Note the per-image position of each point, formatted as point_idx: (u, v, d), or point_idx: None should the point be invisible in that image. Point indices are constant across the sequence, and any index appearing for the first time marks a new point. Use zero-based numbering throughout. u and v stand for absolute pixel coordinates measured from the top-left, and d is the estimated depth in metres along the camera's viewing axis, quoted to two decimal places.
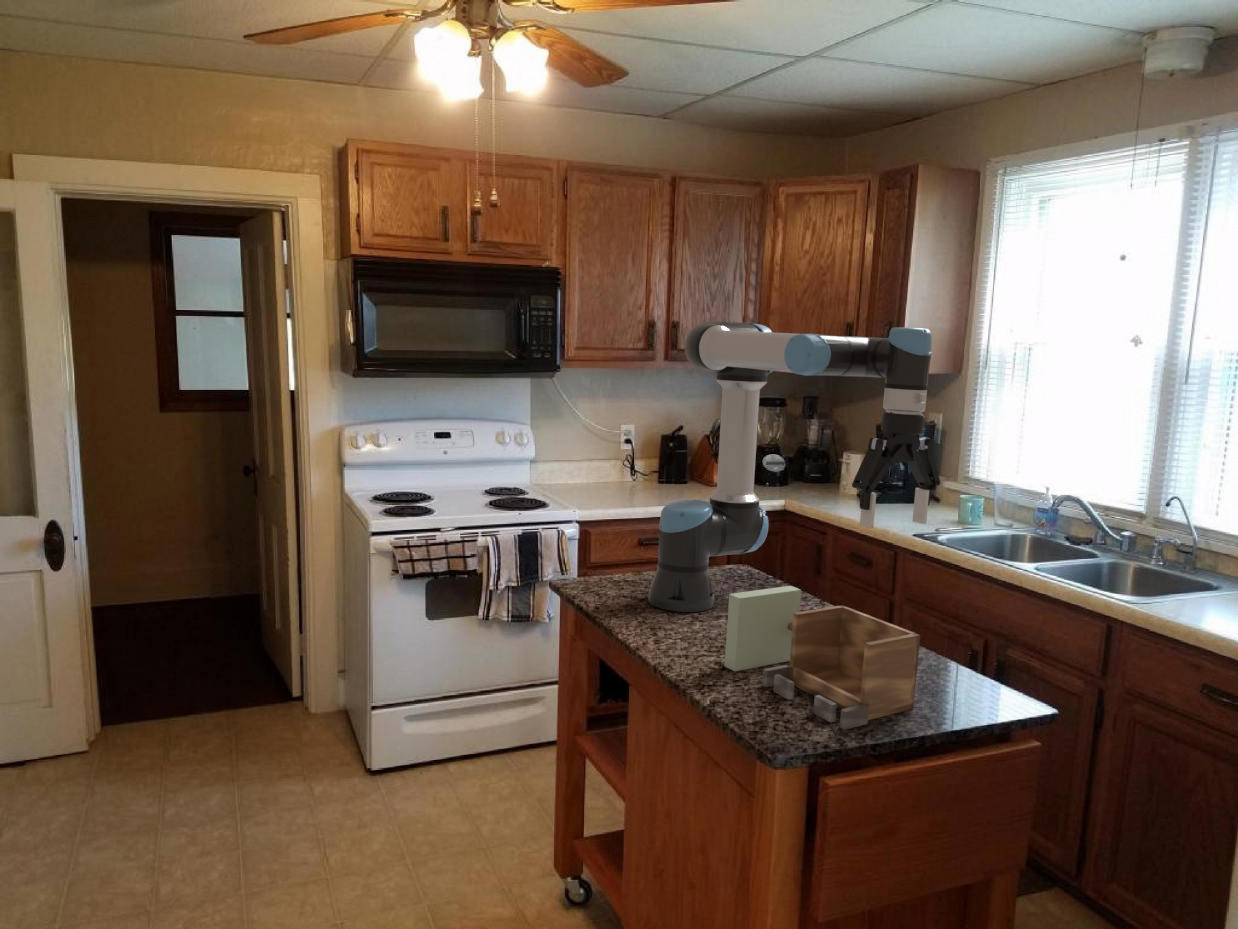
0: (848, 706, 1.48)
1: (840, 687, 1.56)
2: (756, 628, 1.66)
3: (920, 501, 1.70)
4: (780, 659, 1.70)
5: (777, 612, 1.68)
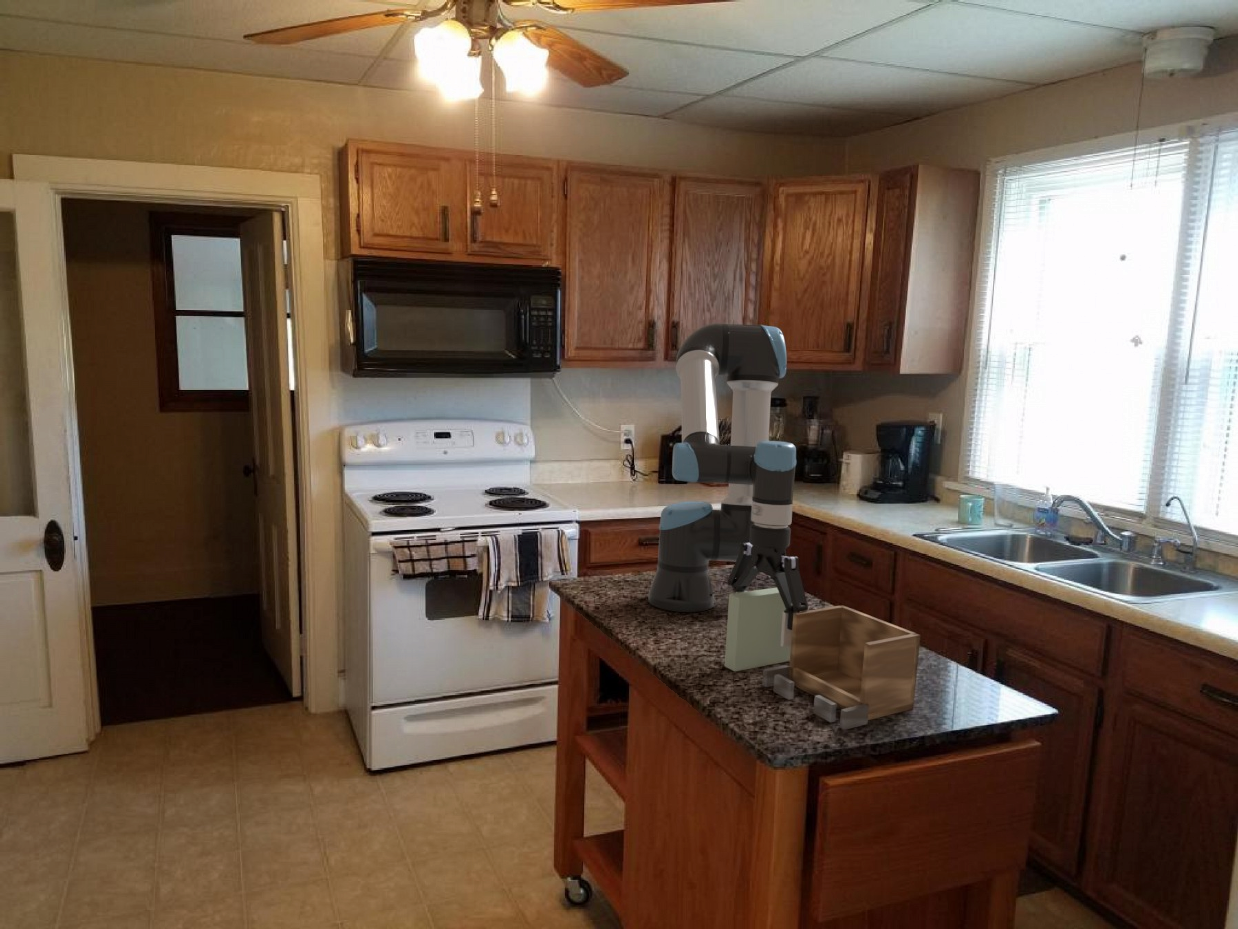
0: (848, 706, 1.48)
1: (840, 687, 1.56)
2: (756, 628, 1.66)
3: None
4: (780, 659, 1.70)
5: (777, 612, 1.68)
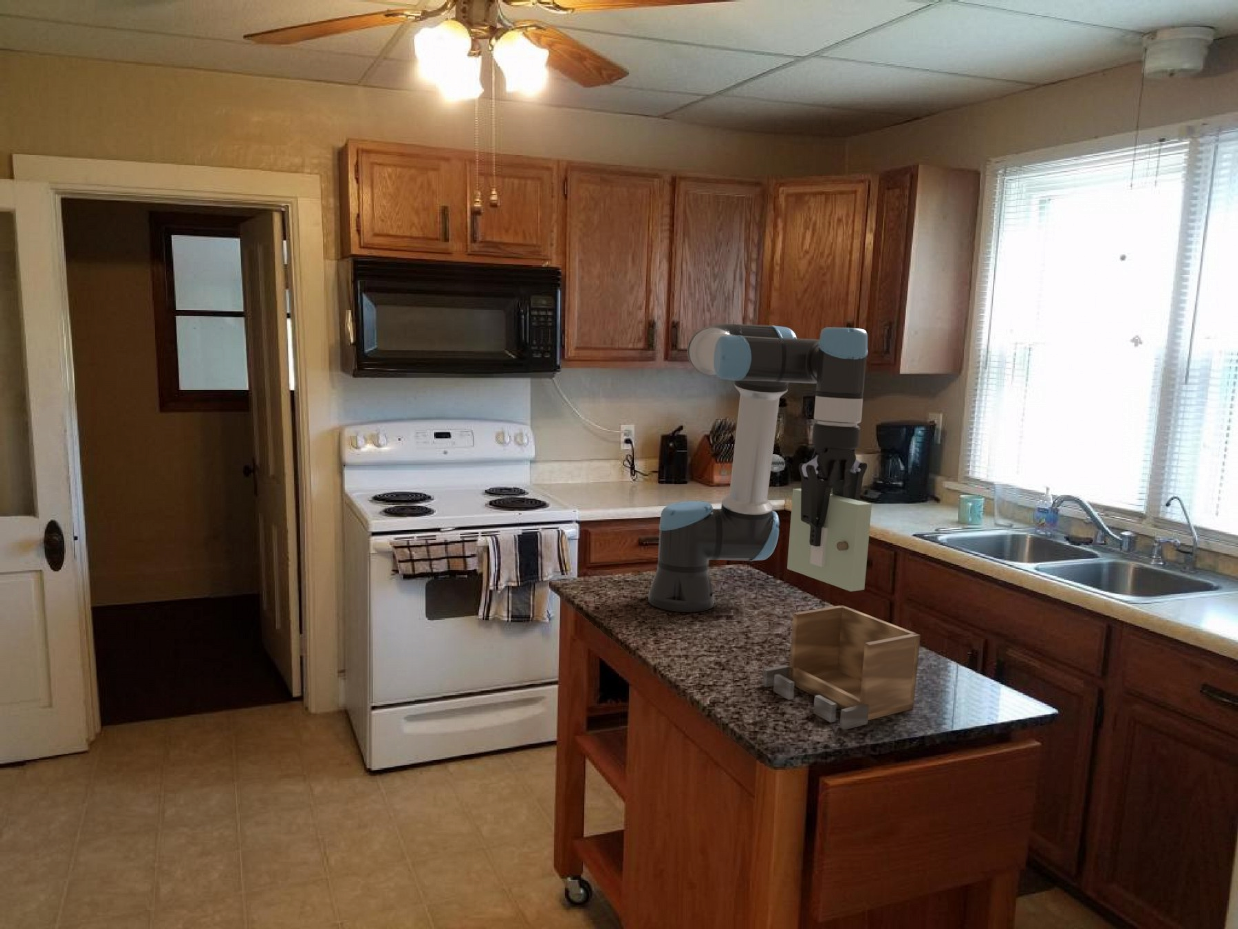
0: (848, 706, 1.48)
1: (840, 687, 1.56)
2: (808, 530, 1.49)
3: None
4: (833, 581, 1.44)
5: (831, 521, 1.44)
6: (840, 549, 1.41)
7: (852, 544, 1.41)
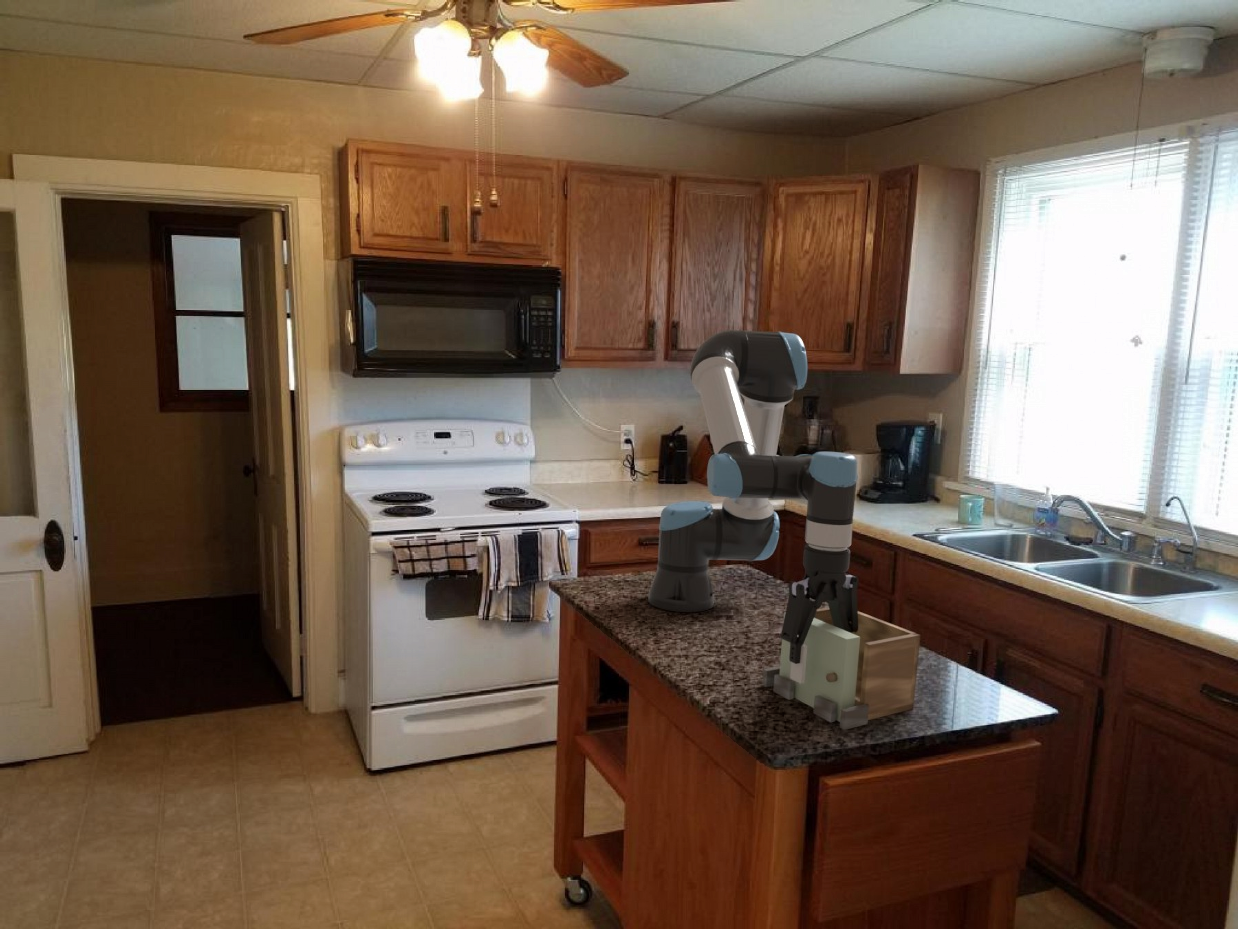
0: None
1: None
2: None
3: None
4: None
5: (820, 651, 1.48)
6: (829, 681, 1.44)
7: (841, 677, 1.44)
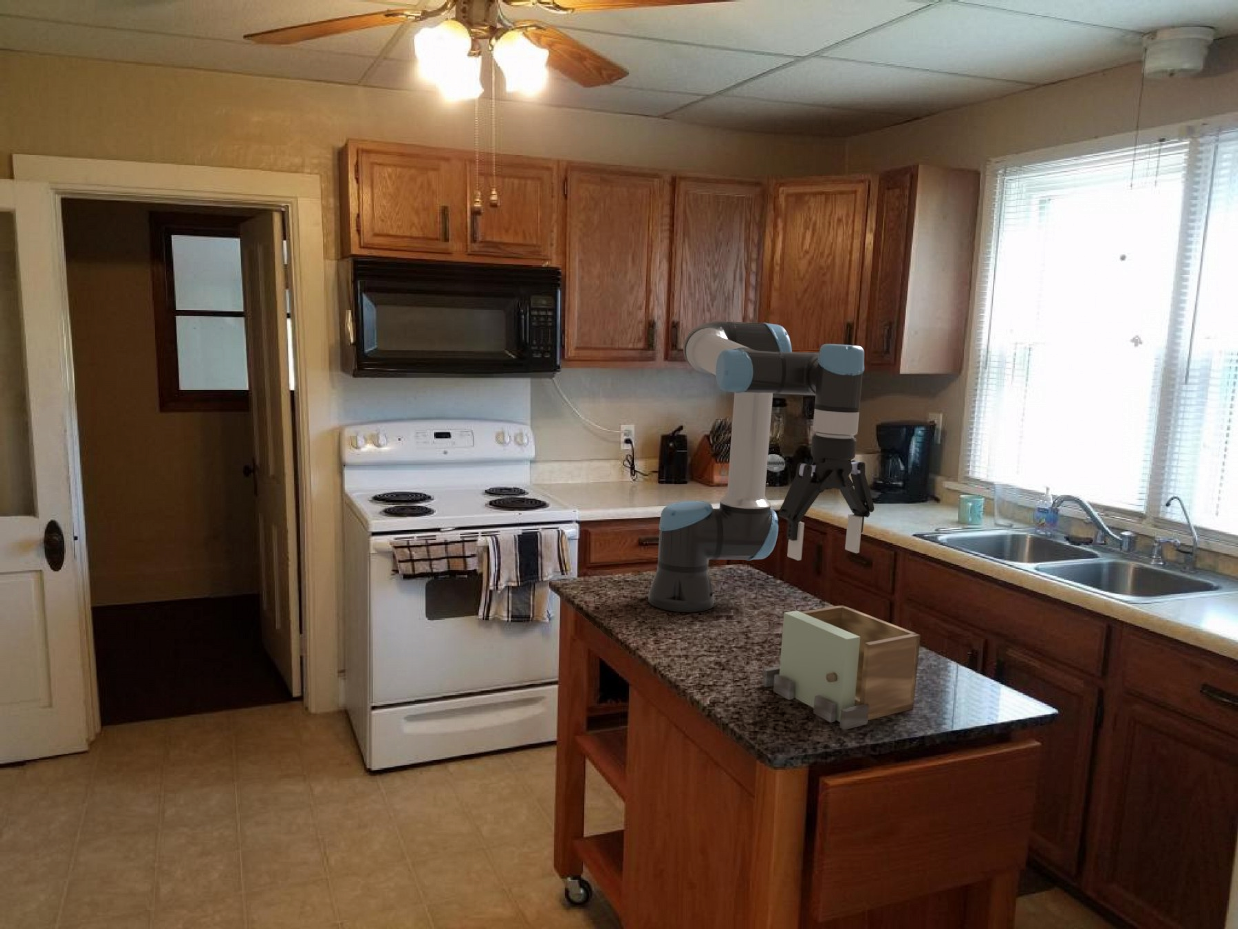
0: None
1: None
2: (799, 656, 1.52)
3: None
4: None
5: (820, 651, 1.48)
6: (829, 681, 1.44)
7: (841, 677, 1.44)
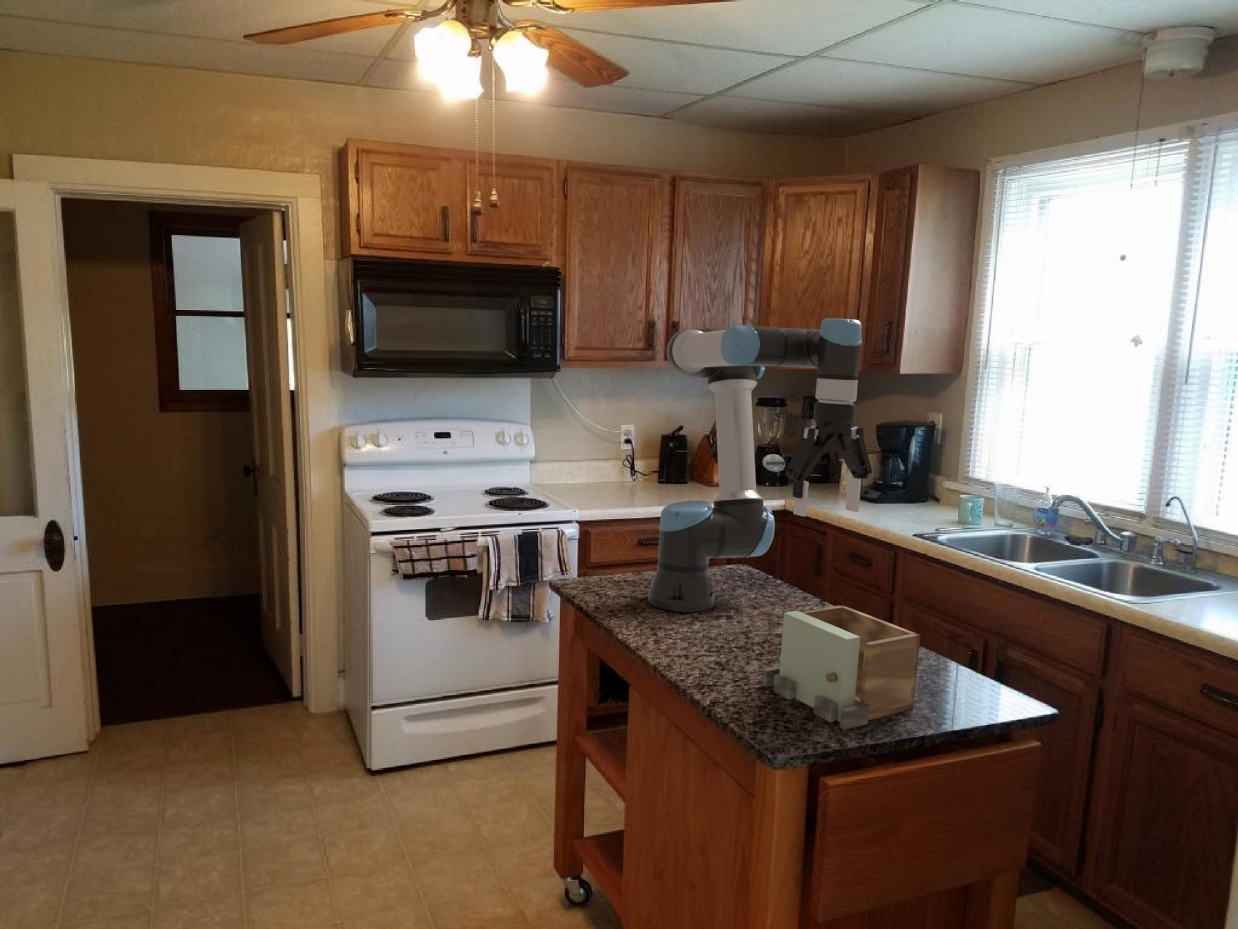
0: None
1: None
2: (799, 656, 1.52)
3: None
4: None
5: (820, 651, 1.48)
6: (829, 681, 1.44)
7: (841, 677, 1.44)
